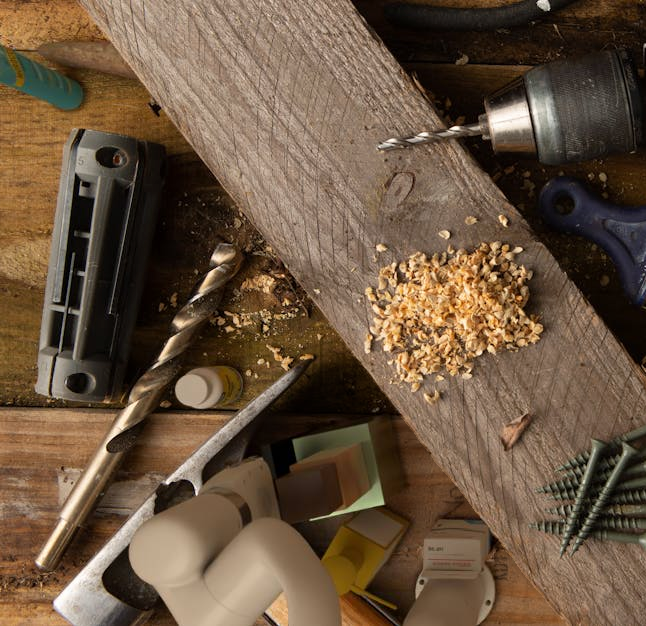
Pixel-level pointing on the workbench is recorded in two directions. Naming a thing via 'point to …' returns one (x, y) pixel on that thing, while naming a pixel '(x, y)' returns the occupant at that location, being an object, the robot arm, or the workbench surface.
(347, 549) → the soap bottle
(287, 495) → the block
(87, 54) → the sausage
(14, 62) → the tube
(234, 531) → the robot arm
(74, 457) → the workbench surface
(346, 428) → the oven
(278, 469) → the oven door
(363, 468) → the riser
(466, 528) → the ink box
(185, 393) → the pill bottle
